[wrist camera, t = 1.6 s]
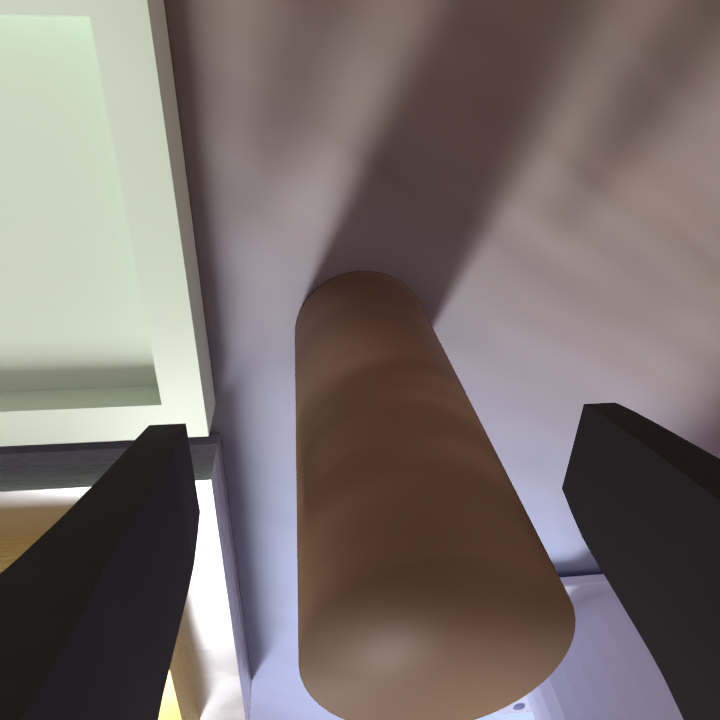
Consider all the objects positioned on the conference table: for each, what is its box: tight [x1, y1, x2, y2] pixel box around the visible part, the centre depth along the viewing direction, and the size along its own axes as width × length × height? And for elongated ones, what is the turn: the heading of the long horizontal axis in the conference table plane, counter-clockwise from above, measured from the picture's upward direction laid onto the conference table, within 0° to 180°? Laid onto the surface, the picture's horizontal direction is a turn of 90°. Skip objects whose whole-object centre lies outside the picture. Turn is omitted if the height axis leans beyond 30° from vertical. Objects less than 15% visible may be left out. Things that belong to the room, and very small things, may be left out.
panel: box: [0, 433, 252, 720], centre depth 17 cm, size 12×12×4 cm
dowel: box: [295, 271, 576, 720], centre depth 11 cm, size 4×4×9 cm
